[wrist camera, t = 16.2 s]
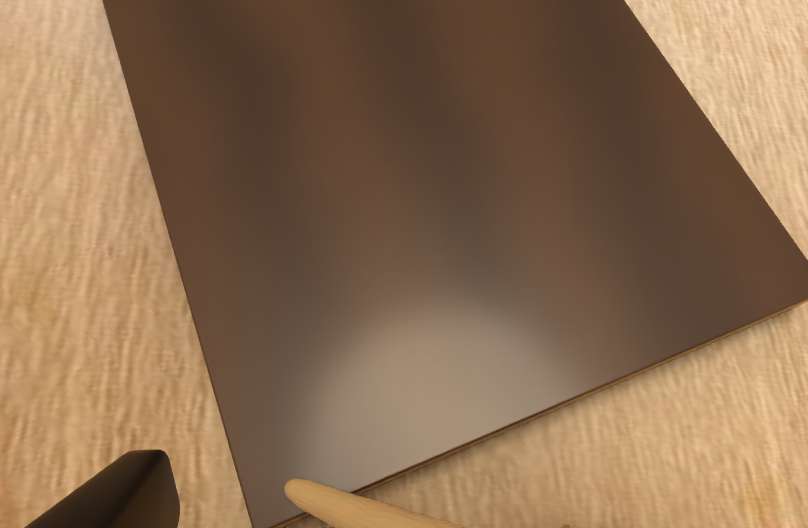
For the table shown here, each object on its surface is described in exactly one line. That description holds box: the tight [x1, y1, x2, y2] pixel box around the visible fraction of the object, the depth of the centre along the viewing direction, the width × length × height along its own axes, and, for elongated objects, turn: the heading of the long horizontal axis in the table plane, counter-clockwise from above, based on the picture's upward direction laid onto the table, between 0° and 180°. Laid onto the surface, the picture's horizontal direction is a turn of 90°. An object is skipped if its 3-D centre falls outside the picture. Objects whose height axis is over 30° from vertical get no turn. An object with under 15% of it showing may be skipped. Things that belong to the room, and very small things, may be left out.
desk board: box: [102, 0, 808, 528], centre depth 24 cm, size 20×25×2 cm
